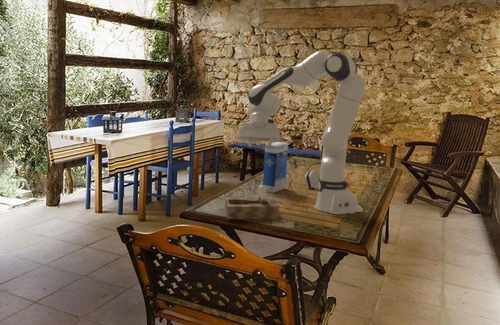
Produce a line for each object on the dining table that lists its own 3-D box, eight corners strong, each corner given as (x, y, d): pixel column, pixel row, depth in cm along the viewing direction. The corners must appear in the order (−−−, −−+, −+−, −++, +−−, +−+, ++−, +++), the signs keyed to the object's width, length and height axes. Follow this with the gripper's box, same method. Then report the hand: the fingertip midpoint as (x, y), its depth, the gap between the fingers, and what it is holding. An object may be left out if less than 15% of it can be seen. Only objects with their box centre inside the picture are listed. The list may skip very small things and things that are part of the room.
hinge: (315, 189, 240) (310, 172, 240) (307, 191, 242) (303, 174, 242) (323, 184, 255) (319, 167, 255) (316, 185, 257) (311, 169, 257)
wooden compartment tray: (227, 219, 181) (227, 206, 180) (225, 209, 195) (225, 197, 194) (278, 219, 184) (279, 206, 183) (272, 209, 198) (273, 198, 197)
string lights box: (274, 186, 244) (277, 141, 239) (286, 188, 239) (289, 143, 235) (262, 190, 233) (264, 143, 228) (274, 193, 229) (276, 145, 224)
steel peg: (266, 210, 193) (267, 184, 191) (269, 213, 188) (270, 187, 186) (254, 210, 192) (255, 184, 190) (256, 214, 187) (257, 187, 185)
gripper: (238, 119, 209) (239, 142, 201) (279, 121, 212) (281, 143, 204) (236, 127, 214) (238, 150, 207) (276, 129, 217) (279, 151, 209)
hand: (260, 146), depth 205 cm, fingers open, 8 cm apart
